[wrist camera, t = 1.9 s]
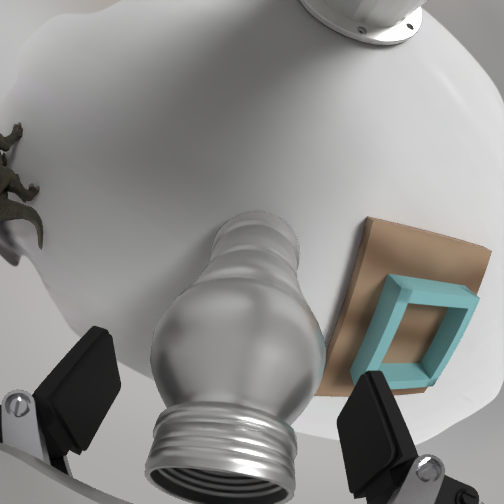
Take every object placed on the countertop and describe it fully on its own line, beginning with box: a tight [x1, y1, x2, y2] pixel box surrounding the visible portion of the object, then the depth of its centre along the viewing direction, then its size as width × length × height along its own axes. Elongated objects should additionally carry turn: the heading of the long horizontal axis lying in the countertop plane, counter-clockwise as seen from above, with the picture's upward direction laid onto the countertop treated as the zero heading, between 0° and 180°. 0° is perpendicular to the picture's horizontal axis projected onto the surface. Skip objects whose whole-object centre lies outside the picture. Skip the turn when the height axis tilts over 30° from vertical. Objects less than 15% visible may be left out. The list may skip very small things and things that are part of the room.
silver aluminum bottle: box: [145, 211, 326, 504], centre depth 14 cm, size 6×7×20 cm
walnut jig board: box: [314, 217, 492, 397], centre depth 23 cm, size 20×16×4 cm
